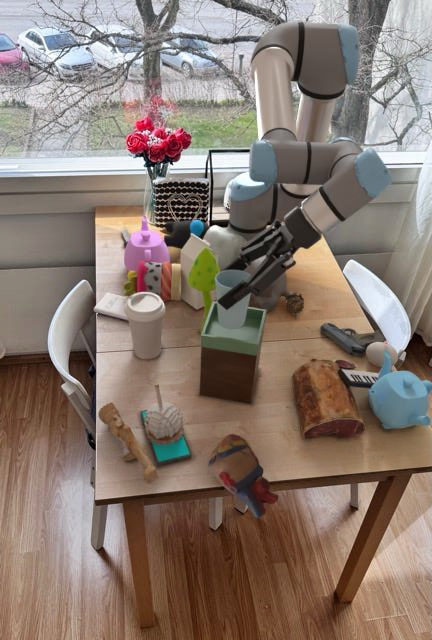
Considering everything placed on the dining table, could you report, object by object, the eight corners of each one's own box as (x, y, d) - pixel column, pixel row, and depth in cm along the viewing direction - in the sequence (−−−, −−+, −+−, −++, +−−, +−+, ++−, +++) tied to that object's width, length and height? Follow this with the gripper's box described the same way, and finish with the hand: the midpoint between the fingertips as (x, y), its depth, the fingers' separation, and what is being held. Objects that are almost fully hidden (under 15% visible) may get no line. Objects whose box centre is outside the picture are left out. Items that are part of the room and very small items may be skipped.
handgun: (352, 309, 148) (320, 324, 143) (391, 337, 140) (359, 353, 135) (350, 316, 150) (318, 331, 144) (388, 344, 142) (356, 361, 137)
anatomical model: (198, 454, 114) (240, 510, 115) (204, 464, 101) (251, 528, 103) (234, 427, 114) (275, 483, 116) (245, 434, 102) (290, 497, 103)
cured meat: (351, 359, 137) (358, 338, 132) (382, 436, 119) (390, 415, 115) (281, 361, 135) (284, 340, 130) (301, 439, 118) (306, 418, 113)
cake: (179, 288, 156) (126, 285, 155) (180, 255, 149) (125, 251, 148) (178, 309, 149) (123, 306, 147) (180, 275, 142) (122, 272, 140)
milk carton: (196, 310, 149) (198, 249, 135) (180, 298, 152) (180, 237, 139) (216, 300, 152) (219, 240, 139) (200, 289, 156) (201, 228, 142)
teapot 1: (173, 284, 157) (172, 248, 148) (126, 287, 155) (122, 250, 146) (166, 248, 170) (165, 212, 162) (123, 249, 169) (120, 214, 160)
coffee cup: (150, 333, 141) (147, 284, 131) (174, 351, 136) (173, 302, 126) (120, 349, 136) (115, 300, 126) (144, 369, 131) (141, 320, 121)
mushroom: (197, 318, 146) (199, 234, 129) (225, 328, 144) (230, 244, 126) (181, 335, 141) (180, 250, 123) (209, 346, 138) (213, 261, 121)
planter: (245, 230, 152) (211, 218, 155) (227, 272, 152) (194, 259, 155) (255, 244, 163) (223, 233, 166) (238, 283, 164) (207, 270, 167)
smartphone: (157, 463, 111) (140, 411, 120) (157, 466, 111) (140, 413, 121) (192, 455, 112) (172, 404, 122) (192, 457, 113) (172, 406, 123)
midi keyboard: (390, 373, 132) (403, 387, 129) (387, 377, 133) (399, 391, 130) (340, 367, 123) (352, 382, 119) (336, 372, 123) (348, 386, 120)
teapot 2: (348, 417, 122) (364, 381, 114) (369, 382, 130) (385, 347, 122) (414, 450, 117) (435, 415, 109) (431, 412, 126) (451, 377, 118)
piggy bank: (295, 312, 147) (273, 276, 138) (242, 331, 154) (218, 298, 145) (292, 270, 159) (272, 234, 149) (243, 289, 165) (220, 256, 156)
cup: (255, 328, 114) (260, 284, 108) (222, 335, 112) (224, 291, 105) (240, 310, 120) (243, 267, 113) (208, 316, 117) (209, 273, 110)
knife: (110, 228, 175) (125, 225, 177) (111, 232, 176) (125, 228, 178) (133, 254, 165) (148, 250, 167) (133, 258, 166) (148, 254, 168)
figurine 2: (375, 330, 135) (370, 352, 140) (364, 342, 132) (359, 363, 136) (405, 342, 132) (399, 364, 136) (395, 355, 128) (389, 376, 133)
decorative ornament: (160, 414, 121) (151, 365, 110) (190, 426, 118) (183, 377, 107) (140, 438, 116) (128, 390, 105) (170, 452, 113) (162, 404, 103)
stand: (210, 361, 134) (212, 312, 124) (258, 369, 133) (264, 320, 123) (199, 395, 126) (200, 346, 116) (250, 404, 125) (256, 355, 114)
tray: (212, 312, 124) (212, 301, 122) (265, 320, 123) (266, 309, 120) (200, 346, 115) (200, 335, 113) (257, 356, 114) (258, 344, 112)
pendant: (308, 293, 150) (296, 285, 147) (308, 317, 147) (296, 309, 144) (294, 300, 153) (282, 293, 150) (294, 323, 150) (281, 316, 147)
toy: (165, 210, 163) (215, 213, 162) (168, 236, 173) (215, 239, 172) (162, 232, 159) (213, 235, 158) (165, 258, 169) (213, 261, 168)
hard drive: (136, 323, 144) (94, 312, 146) (149, 306, 149) (107, 296, 152) (136, 318, 142) (93, 308, 145) (148, 301, 148) (107, 291, 151)
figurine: (147, 492, 107) (100, 429, 118) (165, 481, 109) (116, 419, 120) (141, 471, 102) (92, 407, 113) (160, 460, 103) (109, 397, 115)
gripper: (334, 263, 96) (237, 335, 106) (312, 207, 110) (229, 275, 121) (310, 236, 92) (211, 313, 102) (290, 182, 106) (205, 254, 116)
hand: (220, 292), depth 111 cm, fingers closed on cup, 8 cm apart
